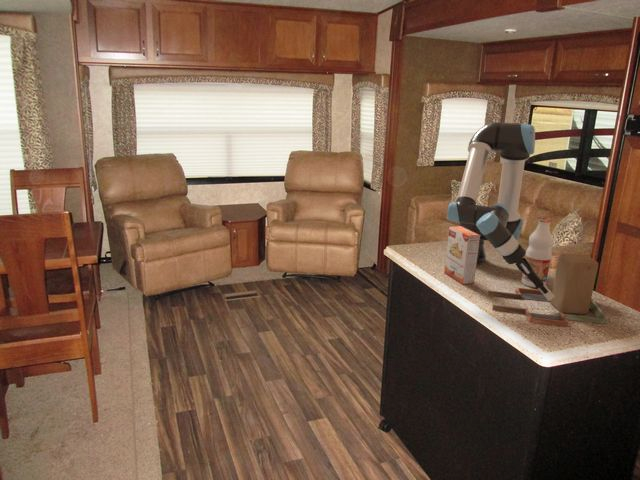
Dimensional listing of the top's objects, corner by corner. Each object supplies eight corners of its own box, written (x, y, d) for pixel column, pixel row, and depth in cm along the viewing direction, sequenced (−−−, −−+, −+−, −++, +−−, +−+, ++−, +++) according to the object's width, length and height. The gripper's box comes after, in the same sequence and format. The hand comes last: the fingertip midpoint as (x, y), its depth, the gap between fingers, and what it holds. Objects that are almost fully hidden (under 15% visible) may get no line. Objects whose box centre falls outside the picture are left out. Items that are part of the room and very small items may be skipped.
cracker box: (443, 272, 213) (448, 226, 207) (455, 271, 215) (461, 225, 209) (461, 284, 200) (468, 235, 194) (474, 283, 202) (481, 234, 196)
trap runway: (485, 287, 198) (486, 280, 198) (584, 298, 192) (585, 291, 191) (495, 317, 172) (496, 309, 171) (610, 331, 165) (612, 323, 164)
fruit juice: (519, 278, 210) (530, 214, 202) (543, 281, 208) (555, 216, 200) (523, 286, 201) (534, 220, 193) (547, 289, 199) (560, 222, 191)
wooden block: (588, 315, 177) (600, 262, 171) (561, 314, 177) (571, 261, 171) (575, 303, 186) (585, 253, 181) (548, 302, 186) (558, 252, 180)
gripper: (499, 250, 185) (538, 297, 187) (504, 261, 173) (546, 311, 175) (516, 238, 183) (555, 285, 185) (522, 249, 171) (565, 299, 173)
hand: (551, 298), depth 180 cm, fingers closed
